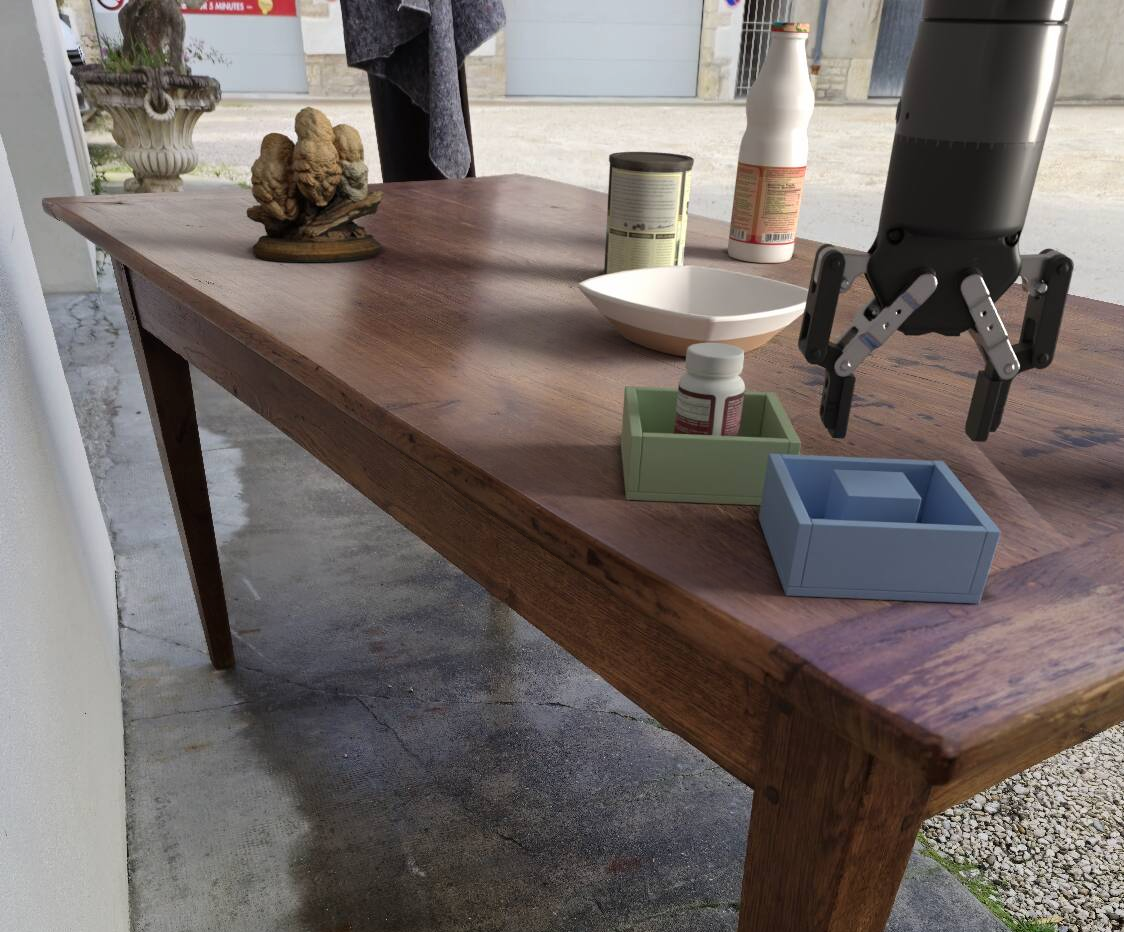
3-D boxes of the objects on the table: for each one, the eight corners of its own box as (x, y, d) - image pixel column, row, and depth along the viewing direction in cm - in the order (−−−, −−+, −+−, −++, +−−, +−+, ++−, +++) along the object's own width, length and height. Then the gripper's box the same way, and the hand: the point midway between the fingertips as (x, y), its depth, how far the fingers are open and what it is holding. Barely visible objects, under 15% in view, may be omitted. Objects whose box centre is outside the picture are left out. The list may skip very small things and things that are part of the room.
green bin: (766, 450, 83) (775, 392, 80) (790, 507, 73) (801, 442, 71) (620, 444, 83) (624, 385, 80) (626, 500, 73) (630, 435, 70)
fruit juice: (716, 258, 149) (743, 20, 133) (741, 249, 156) (770, 21, 140) (777, 267, 146) (813, 23, 129) (801, 257, 152) (837, 24, 136)
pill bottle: (721, 453, 80) (736, 339, 75) (743, 476, 76) (760, 357, 71) (662, 456, 79) (673, 340, 74) (681, 478, 75) (694, 359, 70)
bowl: (838, 348, 110) (847, 295, 107) (708, 383, 97) (715, 324, 94) (681, 308, 122) (686, 260, 119) (549, 335, 110) (550, 282, 107)
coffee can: (591, 273, 137) (597, 150, 129) (663, 272, 140) (674, 151, 131) (618, 290, 129) (627, 161, 121) (694, 288, 132) (708, 161, 124)
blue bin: (926, 526, 71) (943, 460, 69) (979, 604, 62) (1001, 531, 59) (758, 519, 71) (768, 453, 69) (785, 596, 62) (798, 523, 59)
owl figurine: (376, 244, 148) (368, 103, 138) (397, 260, 139) (390, 111, 129) (246, 248, 142) (228, 101, 132) (260, 265, 133) (241, 109, 123)
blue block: (887, 537, 68) (903, 472, 65) (904, 566, 64) (921, 498, 62) (820, 534, 68) (833, 469, 65) (834, 563, 64) (848, 495, 62)
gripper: (849, 133, 51) (800, 456, 60) (1139, 138, 51) (1044, 460, 60) (819, 119, 57) (779, 414, 67) (1078, 123, 57) (1001, 418, 67)
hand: (905, 436), depth 63 cm, fingers open, 8 cm apart
